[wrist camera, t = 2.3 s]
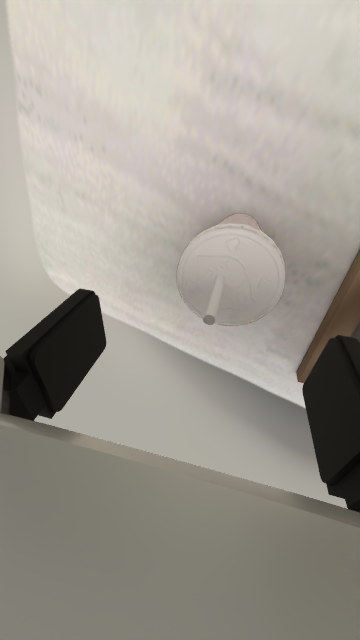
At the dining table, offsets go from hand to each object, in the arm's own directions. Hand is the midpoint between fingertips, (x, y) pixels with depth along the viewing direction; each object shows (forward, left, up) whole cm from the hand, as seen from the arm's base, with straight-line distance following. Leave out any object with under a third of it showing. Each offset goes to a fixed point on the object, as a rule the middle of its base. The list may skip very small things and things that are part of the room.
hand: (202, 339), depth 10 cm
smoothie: (-1, 0, -15) cm, 15 cm away
